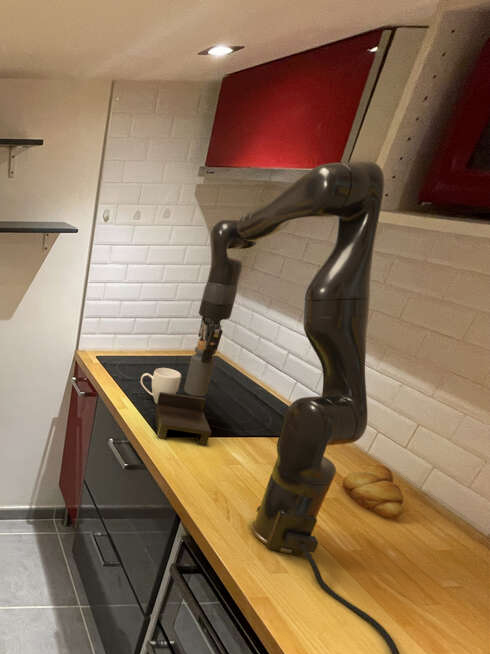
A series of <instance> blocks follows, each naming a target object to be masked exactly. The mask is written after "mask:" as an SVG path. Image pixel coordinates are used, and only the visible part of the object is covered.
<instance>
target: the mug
mask: <svg viewBox="0 0 490 654" xmlns="http://www.w3.org/2000/svg"><path fill="white" fill-rule="evenodd" d="M145 376H146V377H149V378H150V379H151V391H150V390H149V389H148V388H147V387H146V386H145V385H144V382H143V380H144V377H145ZM181 380H182V374H181V373H180V372H179V371H178V370H175V369H173V368H167V367H158V368H156V369H154V371H153V374H150V373H149V372H145V373H143V374H142V375H141V377H140V385H141V386H142V388H143V389H144V390H145V392H146V393H148V394H149V395H150V396H152V397H153V402H154V403H155V405H157V402H158V397H159V393H160V392H163V393H171V394H177V393H178V390H179V388H180V383H181Z"/></svg>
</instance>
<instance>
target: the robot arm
mask: <svg viewBox="0 0 490 654" xmlns="http://www.w3.org/2000/svg"><path fill="white" fill-rule="evenodd" d="M384 192H385V176H384V172H383V169H382V168H381V166H380V165H379V164H378V163H375V162H373V161H347V162H345V161H344V162H330V163H329V162H328V163H324V164H319V165H318V166H315V167H314V168H312V169H311V170H308V172H306V173H304V174H303V175H302V176H300V177H299V178H298V179H296V181H294V182H293V183H292V184H290V185H289V186H287V188H285V189H284V190H283V191H282V192H281V193H279V194H278V195H276V196H275V197H274V198H273V199H271V200H269V201H268V202H266V203H264V204H262V205H260V206H258V207H256V208H254V209H252V210H250V211H248V212H246V213H245V214H243V215H242V216H241V217H240V218H239V219H221V220H219V221H217V222H216V223H215V224H214V225H213V227H212V228H211V230H210V233H209V234H210V235H209V244H210V245H209V246H210V267H209V272H208V276H207V281H206V283H205V286H204V289H203V292H202V297H201V301H200V306H199V309H198V315H199V316H201V322H200V327H199V332H198V341H201V340H204V341H205V345H204V351H203V355H202V359H201V361H202V362H204V363H210V362H211V358H212V357H213V355H212V354H213V350H216V351H217V350H218V348H219V345H220V341H221V339H222V335H223V334H224V333H223V332H224V331H223V329H222V325H221V321H223V320H224V321H225V320H229V319H230V318H231V316H232V312H233V308H234V304H235V300H236V297H237V292H238V285H239V281H240V277H241V273H242V270H243V262H242V260H239V259H236V258H232V257H229V255H228V250H248V249H249V250H250V249H251V248H254V247H255V246H256V245H258V244H259V243H260V242H261V241H262V240H264V239H266V238H269V237H271V236H275V235H276V234H278V233H280V232H282V231H283V230H284V229H286V228H287V227H288V225H289V224H290V223H291V221H294V220H298V219H304V218H316V219H329V218H332V219H333V218H337V231H336V237H335V241H334V245H333V247H332V249H331V251H330V253H329V255H328V256H327V257H326V259H325V260H324V262H323V263H322V265H321V266H320V267H319V268H318V270H317V272H315V275H313V277H312V279H311V280H310V282H309V283H308V285H307V287H306V289H305V293H304V298H303V312H302V313H303V315H302V326H303V330H304V333H305V336H306V338H307V340H308V342H309V344H310V345H311V347H312V349H313V351H314V352H315V354H316V356H317V358H318V360H319V362H320V365H321V369H322V377H323V378H322V390H321V391H322V392H321V395H319V396H318V395H317V396H306V397H305V396H304V397H300V398H297V399H295V400H294V401H292V403H291V404H290V405H289V407H288V408H287V410H286V412H285V414H284V417H283V420H282V424H281V428H280V430H279V431H280V432H279V435H278V439H277V442H276V454H277V457H276V460H275V463H274V465H273V469H272V471H271V474H270V477H269V480H268V482H267V484H266V488H265V491H264V494H263V497H262V499H261V501H260V504H259V506H258V507H257V509H256V513H257V514H256V517H255V519H254V521H253V523H252V526H251V531H252V533H253V534H254V536H255V537H256V538H257V539H258V540H259V541H260V542H261V543H263V544H264V545H265V546H266V549H268V550H270V551H275V552H279V553H285V554H289V555H295V556H298V557H303V555H304V556H305V558H306V560H307V562H308V563H309V565H310V568H311V570H312V572H313V575H314V577H315V580H316V581H317V583H318V585H320V587H321V588H322V589H323V591H325V593H327V594H328V595H329V596H330V597H332V598H333V599H334V600H335V601H337V602H339V603H340V604H341V605H343V606H345V607H346V608H347V609H349V610H350V611H352V612H353V613H355V614H356V615H358V616H359V617H361V618H362V619H364V620H365V621H366V622H368V623H369V624H370V625H371V626H373V628H374V629H376V631H377V632H379V634H380V635H381V636H382V637H383V639H384V641H385V642H386V644H387V646H388V648H389V649H390V653H391V654H400V652H399V649H398V646H397V644H396V642H395V641H394V639H393V637H392V636H391V635H390V634H389V632H387V630H386V629H385V628H384V627H383V626H382V625H381V624H380V623H379V622H378V621H377V620H376V619H375V618H373V617H372V616H371V615H369V614H368V613H366V612H365V611H364V610H362V609H360V608H358V607H357V606H355V605H354V604H352V603H351V602H350V601H348V600H346V599H345V598H343V597H341V596H340V595H339V594H338V593H337V592H335V591H334V590H333V589H332V588H331V587H330V586H329V585H328V584H327V583H326V581H324V578H323V577H322V574H321V572H320V568H319V567H318V564H317V563H316V561H315V560H314V559H315V558H314V557H313V555H312V554H315V552H316V550H317V547H318V546H319V541H318V539H317V537H316V536H315V535H312V534H313V532H314V529H315V527H316V524H317V522H318V519H317V518H318V516H319V513H320V510H321V509H322V506H323V503H324V501H325V498H326V497H327V494H328V492H329V489H330V487H331V485H332V483H333V481H334V479H335V476H336V473H337V468H336V465H335V464H334V462H333V461H331V460H330V459H329V458H328V457H326V456H325V453H326V449H327V446H338V445H349V444H353V443H355V442H358V440H360V439H361V438H362V437H363V436H364V434H365V433H366V430H367V427H368V418H369V417H368V397H367V384H366V383H367V381H366V356H367V354H366V353H367V333H368V331H367V330H368V323H369V315H370V301H371V300H370V298H371V296H370V295H371V276H372V275H371V274H372V265H373V255H374V246H375V241H376V234H377V229H378V224H379V219H380V214H381V210H382V204H383V198H384ZM211 342H213V345H210V343H211ZM311 553H312V554H311Z"/></svg>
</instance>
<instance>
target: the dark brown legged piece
mask: <svg viewBox="0 0 490 654" xmlns="http://www.w3.org/2000/svg"><path fill="white" fill-rule="evenodd" d="M206 401H207V399H206V397H201V396H194V395H186V394H185V395H183V394H177V393H176V394H171V393H163V392H160V393H159V397H158V402H157V404H156V409H155V415H154V419H153V421H154V425H155V430H156V434H157V439H163V440H166V438H167V433H168V430H172V431H179V432H185V433H192V434H195V437H196V440H197V443H198V445H199V446H205V447H207V446H208V442H209V438H210V436H212V430H211V428H210V424H209V423H208V420H207V418H206V416H205V413H204V409H205V405H206Z"/></svg>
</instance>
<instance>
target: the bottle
mask: <svg viewBox="0 0 490 654" xmlns="http://www.w3.org/2000/svg"><path fill="white" fill-rule="evenodd" d="M204 345H205V341H204V340H201V341H199V340H198V341H197V346H195V348H194V352H195V353H194V354H192V355H191V358H190V361H189V367H188V370H187V374H186V379H185V383H184V387H183V391H184V393H186V394H188V395H189V396H193V397H205V396H206V395H207V392H208V389H209V386H210V382H211V379H212V375H213V374H212V373H213V371H214V367H215V363H216V359H215V357H213V356H215V355H216V353H217V350H213V354H212V358H211V362H210V363H204V362H202V361H201V359H202V355H203V351H204ZM210 345H213V342H211V343H210Z"/></svg>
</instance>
